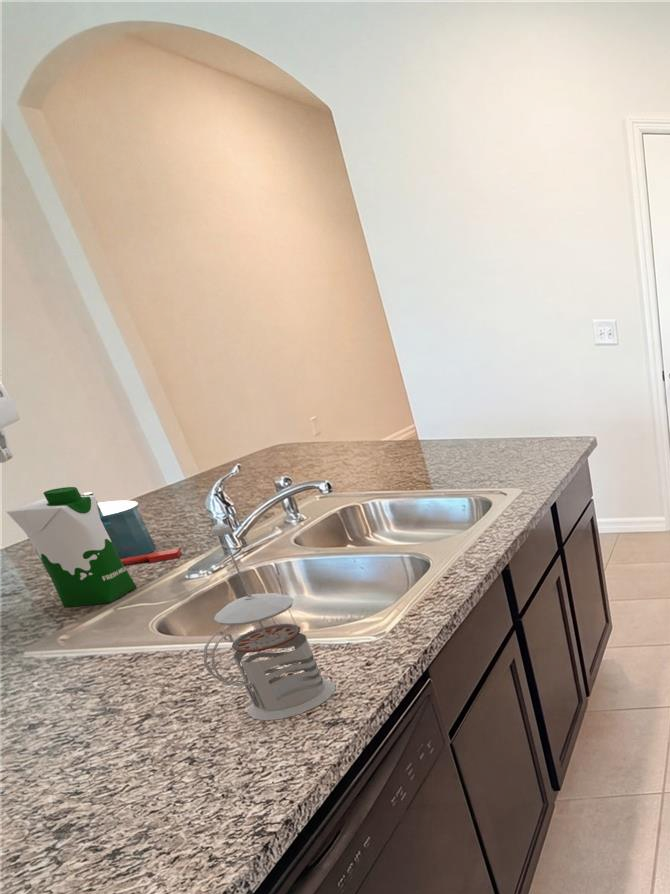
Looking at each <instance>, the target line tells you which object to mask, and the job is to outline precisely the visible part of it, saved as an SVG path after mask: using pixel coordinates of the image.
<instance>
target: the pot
mask: <svg viewBox="0 0 670 894" xmlns="http://www.w3.org/2000/svg"><path fill="white" fill-rule="evenodd" d="M101 522H102V524H103V526H104V528H105V530H106V532H107V534H108V536H109V538H110V540H111V542H112V544H113V546H114V548H115V550H116V551H117V553H118V555H119V557H120V559H123V558H129V557H135V556H141V555H146V554H150V553H153V552H155V550H156V544H155V543H154V540H153V538H152V536H151V535H150V534H151V533H150V531H149V529H148V528H147V526H146V522H145V521H144V519H143V517H142V514H141V512H140V511H139V509H138V508H136V509H134V510H132V511H129V512H126V513H123V514H120V515H116V516H112V517H108V518H103V519H101ZM152 551H153V552H152Z"/></svg>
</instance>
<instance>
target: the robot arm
mask: <svg viewBox="0 0 670 894" xmlns="http://www.w3.org/2000/svg"><path fill="white" fill-rule="evenodd" d="M2 375H3V374H2V372H1V371H0V376H2ZM19 421H20V413H19V410H18V409H17V406H16V404H15V403H14V402H13V400H12V398H11V396H10V394H9V393H8V391H7V390H6V388H5V386H4V385H3V383H2V382H1V381H0V464H3V463H6V462H7V461H9V460H11V459H12V458H13V457H14V455H13V453H12V452H11V449H10V448H9V444H8V439H7V438H8V437H7V434H6V433H5V430H4V428H5V427H7V426H9V425H12V424H15V422H19Z"/></svg>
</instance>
